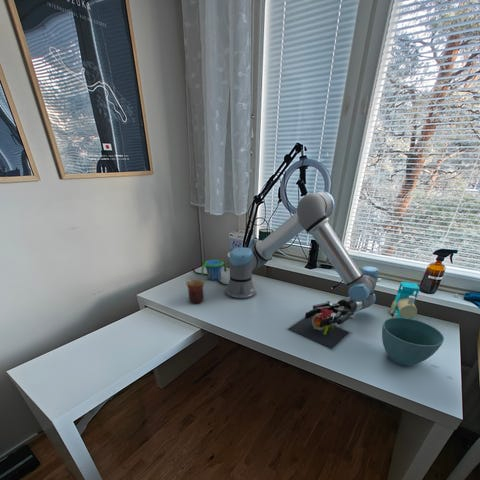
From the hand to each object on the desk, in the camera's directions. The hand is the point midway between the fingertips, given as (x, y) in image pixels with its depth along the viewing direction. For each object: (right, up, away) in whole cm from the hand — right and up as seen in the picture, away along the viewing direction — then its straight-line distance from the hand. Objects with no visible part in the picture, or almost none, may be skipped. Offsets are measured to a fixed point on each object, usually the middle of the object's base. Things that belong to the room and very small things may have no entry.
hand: (313, 320), depth 107 cm
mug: (-52, +10, +30) cm, 61 cm away
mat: (+4, -5, +6) cm, 9 cm away
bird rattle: (+4, -5, +5) cm, 8 cm away
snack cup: (-45, +25, +56) cm, 76 cm away
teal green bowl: (+30, -14, -9) cm, 34 cm away
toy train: (+45, 0, +16) cm, 47 cm away
